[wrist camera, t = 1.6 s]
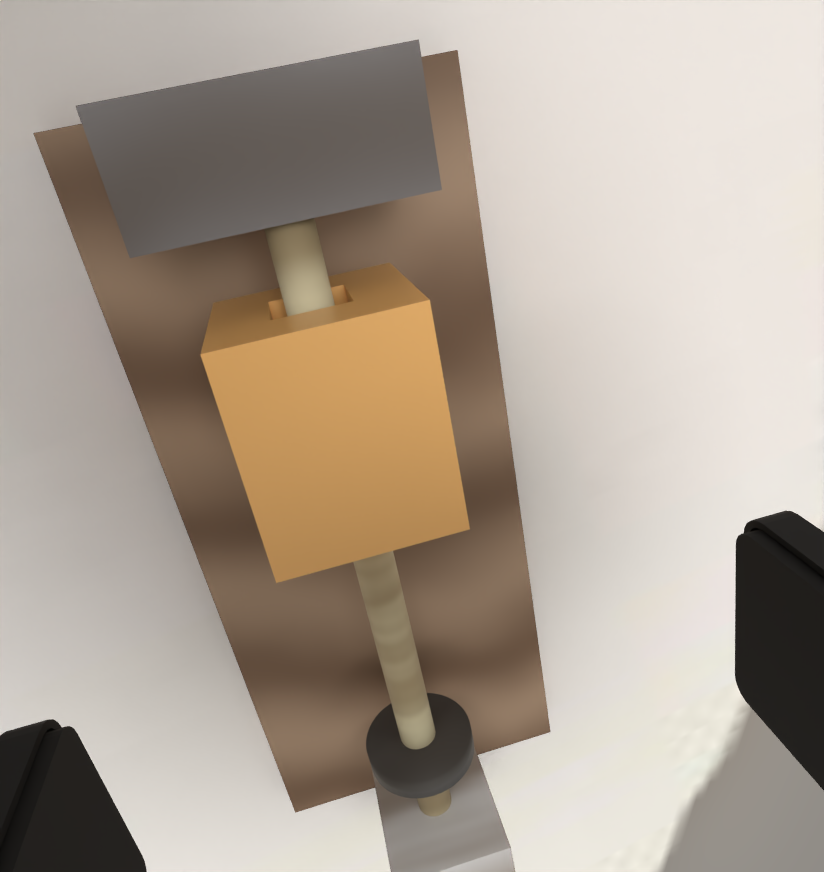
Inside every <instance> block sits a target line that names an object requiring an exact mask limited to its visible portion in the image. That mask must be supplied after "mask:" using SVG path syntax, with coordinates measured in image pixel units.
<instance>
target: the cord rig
mask: <svg viewBox="0 0 824 872" xmlns="http://www.w3.org/2000/svg"><path fill="white" fill-rule="evenodd" d="M76 108H77V111H78V114H79V117H80V120H81V122H82V124H78V125H73V126H68V127H63V128H58V129H53V130H48V131H43V132H37V133H34V136H35V139H36V141H37V144H38V146H39V149H40V152H41V154H42V157H43V159H44V162H45V165H46V167H47V170H48V172H49V175H50V177H51V180H52V183H53V185H54V188H55V190H56V193H57V196H58V198H59V201H60V203H61V206H62V209H63V211H64V214H65V216H66V219H67V222H68V224H69V227H70V229H71V232H72V235H73V237H74V240H75V242H76V245H77V247H78V250H79V253H80V255H81V258H82V260H83V263H84V266H85V268H86V271H87V273H88V276H89V279H90V281H91V284H92V286H93V289H94V292H95V294H96V297H97V299H98V302H99V304H100V307H101V310H102V312H103V315H104V317H105V320H106V323H107V325H108V328H109V330H110V333H111V336H112V338H113V341H114V343H115V346H116V349H117V351H118V354H119V356H120V359H121V362H122V364H123V367H124V369H125V372H126V374H127V377H128V380H129V382H130V385H131V387H132V390H133V393H134V395H135V398H136V400H137V403H138V406H139V408H140V411H141V413H142V416H143V419H144V421H145V424H146V426H147V429H148V432H149V434H150V437H151V439H152V442H153V444H154V447H155V450H156V452H157V455H158V457H159V460H160V463H161V465H162V468H163V470H164V473H165V476H166V478H167V481H168V483H169V486H170V489H171V491H172V494H173V496H174V499H175V502H176V504H177V507H178V509H179V512H180V514H181V517H182V520H183V522H184V525H185V527H186V530H187V533H188V535H189V538H190V540H191V543H192V546H193V548H194V551H195V553H196V556H197V559H198V561H199V564H200V566H201V569H202V572H203V574H204V577H205V579H206V582H207V584H208V587H209V590H210V592H211V595H212V597H213V600H214V603H215V605H216V608H217V610H218V613H219V616H220V618H221V621H222V623H223V626H224V629H225V631H226V634H227V636H228V639H229V642H230V644H231V647H232V649H233V652H234V654H235V657H236V660H237V662H238V665H239V667H240V670H241V673H242V675H243V678H244V680H245V683H246V686H247V688H248V691H249V693H250V696H251V699H252V701H253V704H254V706H255V709H256V711H257V714H258V717H259V719H260V722H261V724H262V727H263V730H264V732H265V735H266V737H267V740H268V743H269V745H270V748H271V750H272V753H273V756H274V758H275V761H276V763H277V766H278V769H279V771H280V774H281V776H282V779H283V781H284V784H285V787H286V789H287V792H288V794H289V797H290V800H291V802H292V805H293V807H294V810H295V812H298V811H302V810H305V809H308V808H311V807H314V806H317V805H321V804H324V803H327V802H330V801H333V800H336V799H340V798H343V797H346V796H349V795H352V794H355V793H359V792H362V791H365V790H368V789H371V788H374V787H375V788H376V794H377V799H378V804H379V810H380V815H381V821H382V826H383V831H384V837H385V842H386V848H387V853H388V858H389V864H390V869H391V872H515V868H514V862H513V857H512V852H511V847H510V844H509V841H508V839H507V836H506V833H505V830H504V828H503V825H502V822H501V819H500V816H499V814H498V811H497V808H496V805H495V803H494V800H493V797H492V794H491V792H490V789H489V786H488V783H487V780H486V778H485V775H484V772H483V769H482V767H481V764H480V761H479V758H478V755H479V754H482V753H485V752H488V751H491V750H495V749H498V748H501V747H504V746H507V745H510V744H514V743H517V742H520V741H523V740H526V739H529V738H532V737H536V736H539V735H542V734H545V733H548V732H550V726H549V719H548V711H547V704H546V697H545V689H544V682H543V675H542V667H541V660H540V653H539V645H538V638H537V631H536V623H535V616H534V609H533V601H532V594H531V586H530V579H529V572H528V564H527V557H526V550H525V542H524V535H523V528H522V520H521V513H520V506H519V498H518V491H517V484H516V476H515V469H514V462H513V454H512V447H511V440H510V432H509V425H508V418H507V410H506V403H505V396H504V388H503V381H502V374H501V366H500V359H499V352H498V344H497V337H496V330H495V322H494V315H493V308H492V300H491V293H490V286H489V278H488V271H487V264H486V256H485V249H484V242H483V234H482V227H481V220H480V212H479V205H478V198H477V190H476V183H475V175H474V168H473V161H472V153H471V146H470V139H469V131H468V124H467V117H466V109H465V102H464V95H463V87H462V80H461V73H460V65H459V58H458V51H457V50H455V51H450V52H445V53H440V54H435V55H429V56H424V57H421V52H420V46H419V40H414V41H409V42H404V43H399V44H393V45H388V46H383V47H378V48H373V49H368V50H362V51H357V52H352V53H347V54H342V55H336V56H331V57H326V58H321V59H316V60H311V61H305V62H300V63H295V64H290V65H285V66H280V67H274V68H269V69H264V70H259V71H254V72H249V73H243V74H238V75H233V76H228V77H223V78H218V79H212V80H207V81H202V82H197V83H192V84H187V85H181V86H176V87H171V88H166V89H161V90H156V91H150V92H145V93H140V94H135V95H130V96H125V97H119V98H114V99H109V100H104V101H99V102H93V103H88V104H83V105H78V106H76ZM389 262H390V263H391V264H392V265H393V266H394V267H395V268H396V269H397V270H398V271H399V272H400V273H401V274H402V275H404V276H405V277H406V278H407V279H408V280H409V281H410V282H411V283H412V284H413V285H414V286H415V287H416V288H418V289H419V290H420V291H421V292H422V293H423V294H424V295H425V296H426V297H427V298H428V299H429V300H430V304H431V310H432V315H433V321H434V327H435V332H436V338H437V344H438V349H439V355H440V361H441V367H442V372H443V378H444V384H445V389H446V395H447V401H448V406H449V412H450V418H451V424H452V429H453V435H454V441H455V446H456V452H457V458H458V464H459V469H460V475H461V481H462V486H463V492H464V498H465V503H466V509H467V515H468V521H469V526H470V529H469V530H466V531H462V532H458V533H455V534H451V535H448V536H444V537H440V538H437V539H433V540H430V541H426V542H422V543H419V544H415V545H412V546H408V547H404V548H401V549H397V550H394V551H390V552H386V553H383V554H379V555H376V556H372V557H368V558H365V559H361V560H358V561H354V562H350V563H347V564H343V565H340V566H336V567H332V568H329V569H325V570H322V571H318V572H314V573H311V574H307V575H304V576H300V577H296V578H293V579H289V580H286V581H282V582H278V583H276V581H275V578H274V575H273V572H272V569H271V566H270V563H269V560H268V557H267V554H266V551H265V547H264V544H263V541H262V538H261V535H260V532H259V529H258V526H257V523H256V520H255V517H254V514H253V511H252V508H251V505H250V502H249V499H248V496H247V493H246V490H245V487H244V484H243V481H242V478H241V475H240V472H239V469H238V466H237V463H236V460H235V457H234V454H233V451H232V448H231V445H230V442H229V439H228V436H227V433H226V430H225V427H224V424H223V421H222V418H221V415H220V412H219V409H218V406H217V403H216V400H215V397H214V394H213V391H212V388H211V385H210V382H209V379H208V376H207V373H206V370H205V367H204V364H203V361H202V358H201V355H200V354H201V350H202V346H203V342H204V338H205V334H206V330H207V326H208V322H209V318H210V314H211V310H212V306H213V303H215V302H219V301H224V300H228V299H233V298H237V297H241V296H246V295H250V294H254V293H259V292H263V291H267V290H272V289H276V288H280V290H281V294H282V298H283V302H284V305H285V309H286V313H287V317H288V316H292V315H296V314H300V313H305V312H309V311H313V310H317V309H322V308H326V307H330V306H334V305H335V303H334V299H333V295H332V291H331V286H330V282H329V278H328V276H333V275H337V274H341V273H346V272H350V271H354V270H359V269H363V268H368V267H372V266H376V265H381V264H385V263H389Z"/></svg>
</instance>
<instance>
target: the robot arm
mask: <svg viewBox="0 0 824 872" xmlns="http://www.w3.org/2000/svg"><path fill="white" fill-rule="evenodd" d="M735 678H736V682H737V686H738V688H739V691H740V693H741V694H742V696H743V698H744V699H745V701H746V702H747V703H748V704H749V705H750V707H751V708H752V709H753V710H754V711H755V712H756V713H757V715H758V716H759V717H760V718H761V719H762V720H763V721H764V723H765V724H766V725H767V726H768V727H769V728H770V729H771V730H772V732H773V733H774V734H775V735H776V736H777V737H778V739H779V740H780V741H781V742H782V743H783V744H784V745H785V747H786V748H787V749H788V750H789V751H790V752H791V754H792V755H793V756H794V757H795V758H796V759H797V760H798V762H799V763H800V764H801V765H802V766H803V767H804V768H805V770H806V771H807V772H808V773H809V774H810V775H811V776H812V777H813V779H815V781H816V782H817V783H818V784H819V786H820V787H821V788H822V789H823V790H824V532H823V531H821V530H820V529H818V528H817V527H816V526H814V525H813V524H811V523H810V522H808V521H807V520H805V519H804V518H802V517H801V516H799V515H798V514H796V513H794V512H792V511H783V512H780V513H776V514H773V515H769V516H766V517H762V518H758V519H755V520H751V521H750V522H748V523H747V524H746V526H745V528H744V534H741V535H739V536H738V538H737V540H736V610H735ZM0 872H146V866H145V861H144V859H143V857H142V855H141V853H140V851H139V849H138V847H137V845H136V843H135V841H134V839H133V838H132V836H131V834H130V832H129V830H128V828H127V826H126V824H125V823H124V821H123V819H122V817H121V815H120V813H119V811H118V809H117V808H116V806H115V804H114V802H113V800H112V798H111V796H110V794H109V792H108V791H107V789H106V787H105V785H104V783H103V781H102V779H101V777H100V776H99V774H98V772H97V770H96V768H95V766H94V764H93V762H92V760H91V759H90V757H89V755H88V753H87V751H86V749H85V747H84V745H83V744H82V742H81V740H80V738H79V736H78V734H77V732H76V731H75V730H74V728H72V727H71V726H67V727H63V728H62V727H61V726H60V725H59V723H58V722H56V721H55V720H45V721H42V722H38V723H35V724H31V725H28V726H24V727H21V728H17V729H14V730H10V731H6V732H5V733H3V734H2V735H1V736H0Z"/></svg>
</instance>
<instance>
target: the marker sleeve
mask: <svg viewBox="0 0 824 872" xmlns="http://www.w3.org/2000/svg"><path fill="white" fill-rule="evenodd" d="M328 278H329V282H330V286H331V291H332V295H333V299H334V303H335V305H334V306H330V307H326V308H322V309H317V310H313V311H309V312H305V313H300V314H296V315H292V316H288V317H287V313H286V309H285V305H284V302H283V298H282V294H281V290H280V288H276V289H272V290H267V291H263V292H259V293H254V294H250V295H246V296H241V297H237V298H233V299H228V300H224V301H219V302H215V303H213V306H212V310H211V314H210V318H209V322H208V326H207V330H206V334H205V338H204V342H203V346H202V350H201V354H200V355H201V358H202V361H203V364H204V367H205V370H206V373H207V376H208V379H209V382H210V385H211V388H212V391H213V394H214V397H215V400H216V403H217V406H218V409H219V412H220V415H221V418H222V421H223V424H224V427H225V430H226V433H227V436H228V439H229V442H230V445H231V448H232V451H233V454H234V457H235V460H236V463H237V466H238V469H239V472H240V475H241V478H242V481H243V484H244V487H245V490H246V493H247V496H248V499H249V502H250V505H251V508H252V511H253V514H254V517H255V520H256V523H257V526H258V529H259V532H260V535H261V538H262V541H263V544H264V547H265V551H266V554H267V557H268V560H269V563H270V566H271V569H272V572H273V575H274V578H275V581H276V583H278V582H282V581H286V580H289V579H293V578H296V577H300V576H304V575H307V574H311V573H314V572H318V571H322V570H325V569H329V568H332V567H336V566H340V565H343V564H347V563H350V562H354V561H358V560H361V559H365V558H368V557H372V556H376V555H379V554H383V553H386V552H390V551H394V550H397V549H401V548H404V547H408V546H412V545H415V544H419V543H422V542H426V541H430V540H433V539H437V538H440V537H444V536H448V535H451V534H455V533H458V532H462V531H466V530H469V529H470V526H469V521H468V515H467V509H466V503H465V498H464V492H463V486H462V481H461V475H460V469H459V464H458V458H457V452H456V446H455V441H454V435H453V429H452V424H451V418H450V412H449V406H448V401H447V395H446V389H445V384H444V378H443V372H442V367H441V361H440V355H439V349H438V344H437V338H436V332H435V327H434V321H433V315H432V310H431V304H430V300H429V299H428V298H427V297H426V296H425V295H424V294H423V293H422V292H421V291H420V290H419V289H418V288H416V287H415V286H414V285H413V284H412V283H411V282H410V281H409V280H408V279H407V278H406V277H405V276H404V275H402V274H401V273H400V272H399V271H398V270H397V269H396V268H395V267H394V266H393V265H392V264H391V263H390V262H389V263H385V264H381V265H376V266H372V267H368V268H363V269H359V270H354V271H350V272H346V273H341V274H337V275H333V276H328Z"/></svg>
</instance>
